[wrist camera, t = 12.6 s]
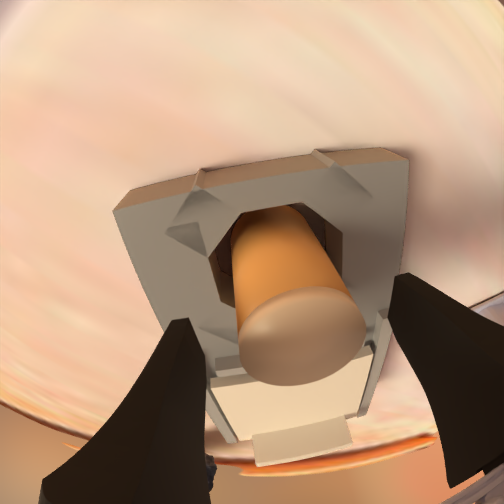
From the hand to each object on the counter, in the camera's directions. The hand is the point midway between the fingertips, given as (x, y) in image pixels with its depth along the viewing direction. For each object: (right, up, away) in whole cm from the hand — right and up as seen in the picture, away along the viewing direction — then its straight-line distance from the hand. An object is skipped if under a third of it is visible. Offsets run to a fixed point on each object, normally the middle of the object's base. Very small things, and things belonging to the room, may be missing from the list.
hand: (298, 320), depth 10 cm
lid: (+1, -7, +8) cm, 11 cm away
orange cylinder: (-1, +3, +5) cm, 6 cm away
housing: (0, -2, +8) cm, 8 cm away
